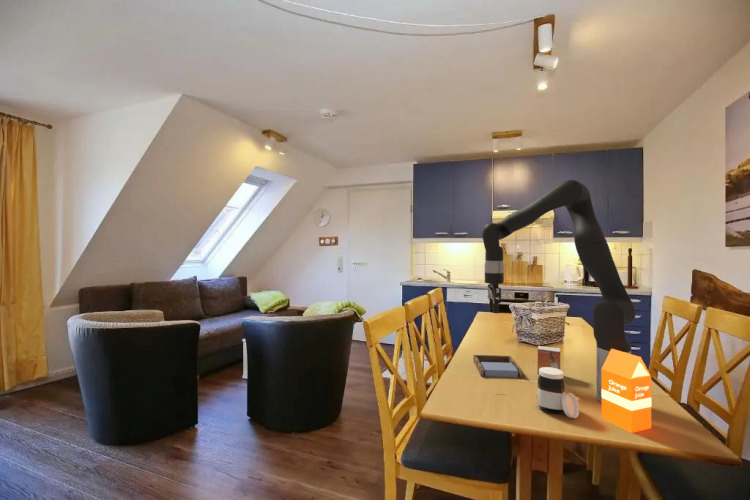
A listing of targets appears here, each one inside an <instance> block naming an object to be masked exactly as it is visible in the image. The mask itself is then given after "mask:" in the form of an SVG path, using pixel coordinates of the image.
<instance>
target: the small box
mask: <svg viewBox="0 0 750 500" xmlns="http://www.w3.org/2000/svg"><path fill="white" fill-rule="evenodd" d="M536 363H537V367H536V368H537V372H536V373H537V375H540V374H539V369H540V368H542V367H552V368H556V369H560V370H561V348H559V347H552V346H551V347H549V346H543V345H542V346H541V345H538V347H537V362H536Z"/></svg>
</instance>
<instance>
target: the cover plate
mask: <svg viewBox="0 0 750 500" xmlns="http://www.w3.org/2000/svg"><path fill="white" fill-rule="evenodd" d="M481 365H482V367H483V369H484V375H485V376H492V377H491V378H503V377H518V370H517V369H516V368H515V366H514V365H513V364H512V363H499V362H481Z"/></svg>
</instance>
